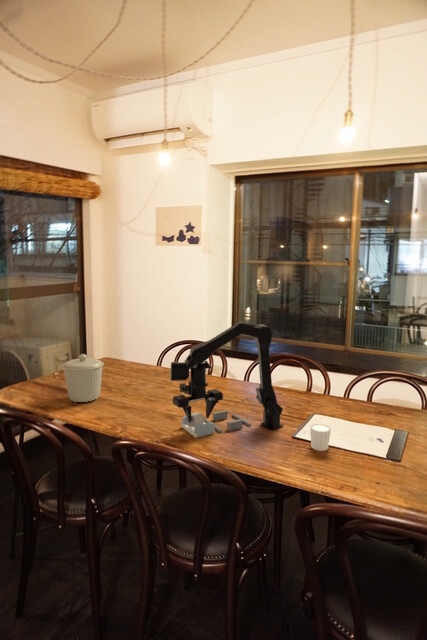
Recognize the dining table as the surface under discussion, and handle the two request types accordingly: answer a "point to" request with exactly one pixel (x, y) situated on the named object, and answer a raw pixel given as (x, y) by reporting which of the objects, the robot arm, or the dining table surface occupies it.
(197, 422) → the usb wall charger
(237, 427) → the blocks
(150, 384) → the dining table surface
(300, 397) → the dining table surface
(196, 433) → the drawer
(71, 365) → the canister
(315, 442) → the shot glass
